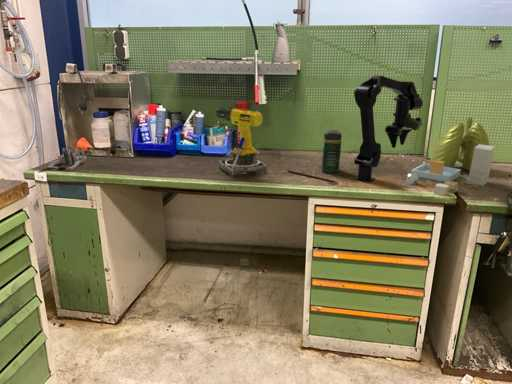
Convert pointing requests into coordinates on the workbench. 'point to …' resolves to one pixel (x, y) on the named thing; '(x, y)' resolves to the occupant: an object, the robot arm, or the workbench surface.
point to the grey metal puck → (412, 178)
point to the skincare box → (481, 164)
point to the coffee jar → (331, 151)
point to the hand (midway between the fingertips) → (397, 146)
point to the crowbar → (314, 177)
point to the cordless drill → (242, 141)
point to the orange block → (436, 167)
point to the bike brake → (67, 160)
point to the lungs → (460, 144)
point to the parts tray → (448, 174)
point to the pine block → (451, 186)
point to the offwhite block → (441, 189)
